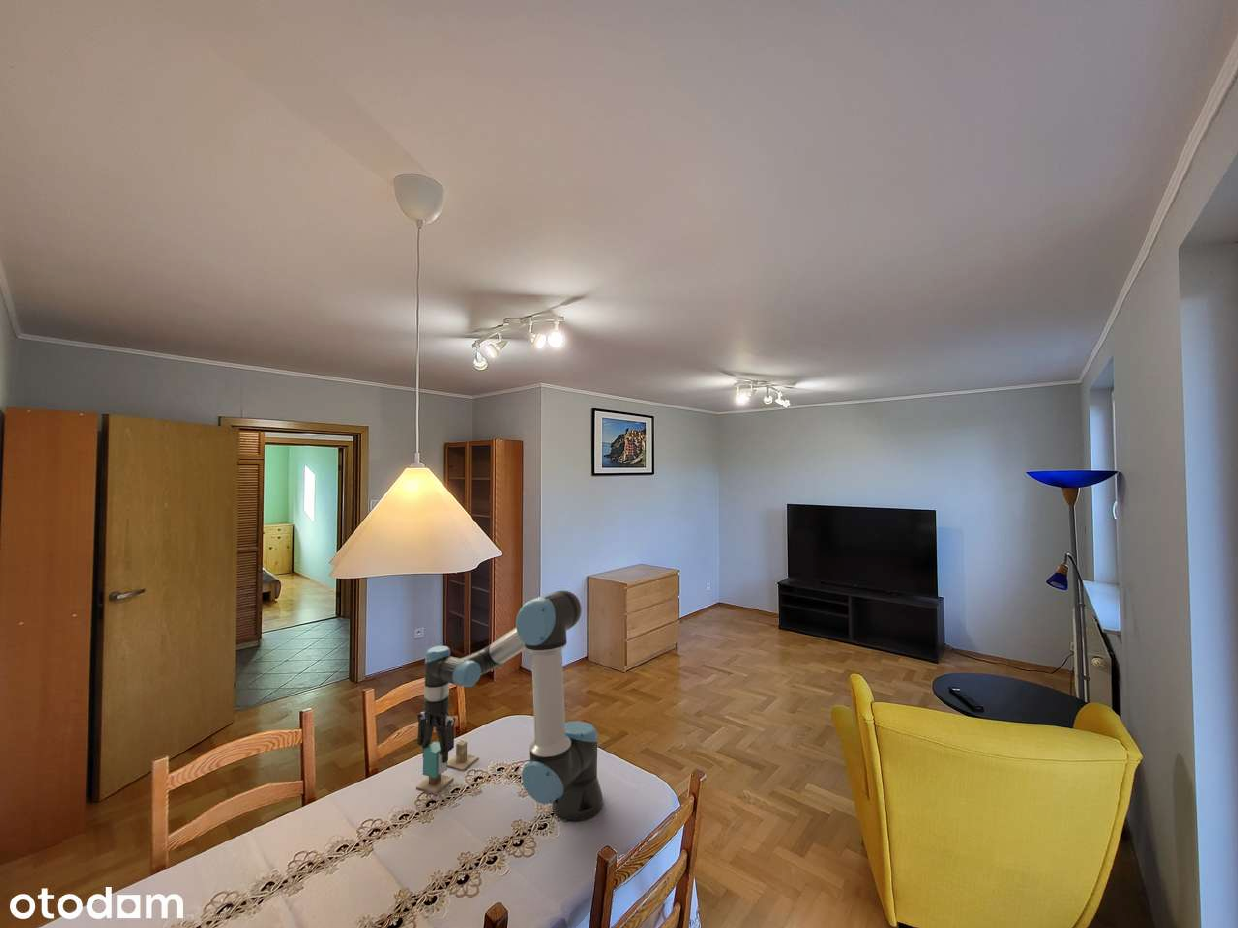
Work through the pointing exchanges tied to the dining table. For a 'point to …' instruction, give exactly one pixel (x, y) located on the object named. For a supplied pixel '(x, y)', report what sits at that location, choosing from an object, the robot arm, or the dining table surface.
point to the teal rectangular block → (431, 760)
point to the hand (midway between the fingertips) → (434, 769)
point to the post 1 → (434, 784)
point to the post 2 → (461, 757)
